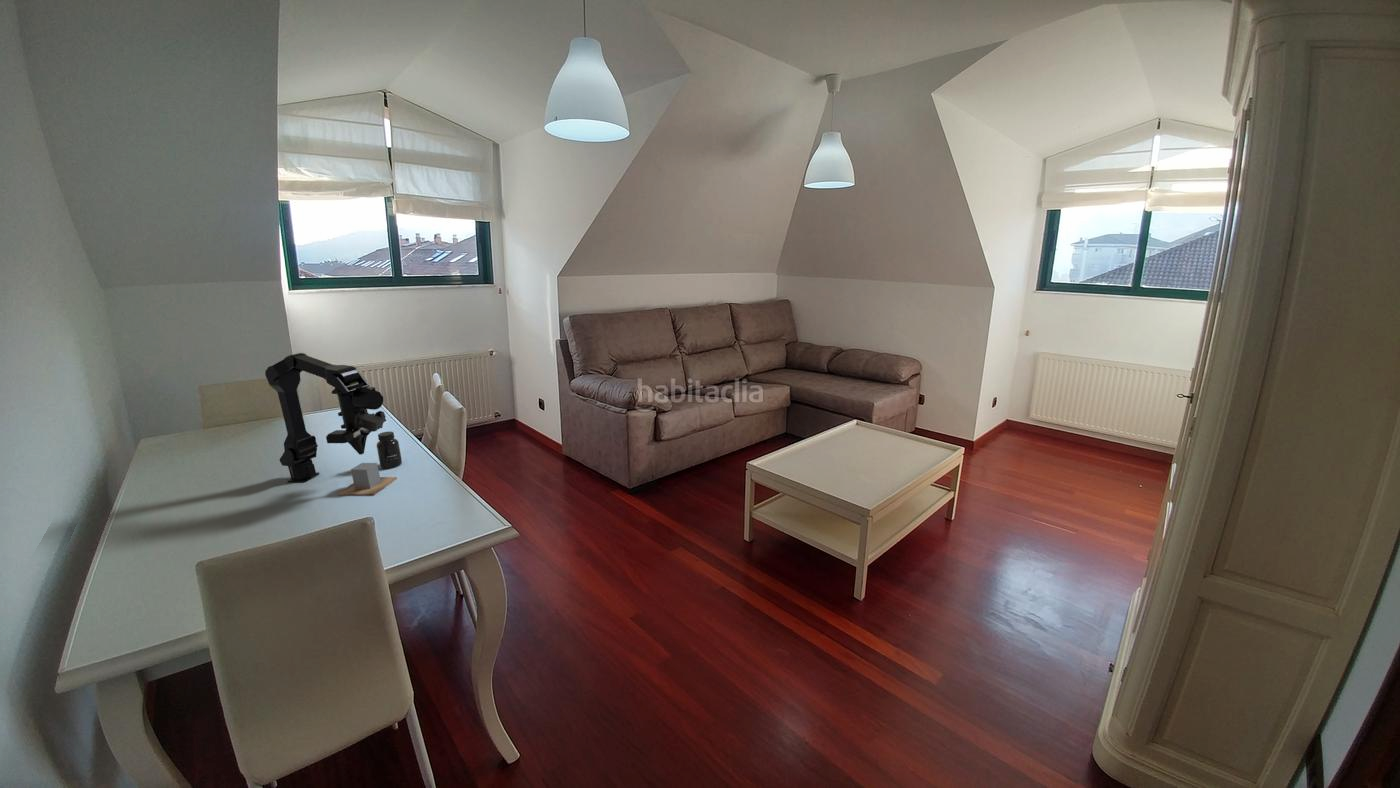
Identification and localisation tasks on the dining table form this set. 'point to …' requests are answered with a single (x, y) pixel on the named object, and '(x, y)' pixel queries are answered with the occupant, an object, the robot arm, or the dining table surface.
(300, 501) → the dining table surface
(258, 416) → the dining table surface
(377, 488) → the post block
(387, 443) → the supplement bottle
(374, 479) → the grey rectangular block
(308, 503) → the dining table surface
